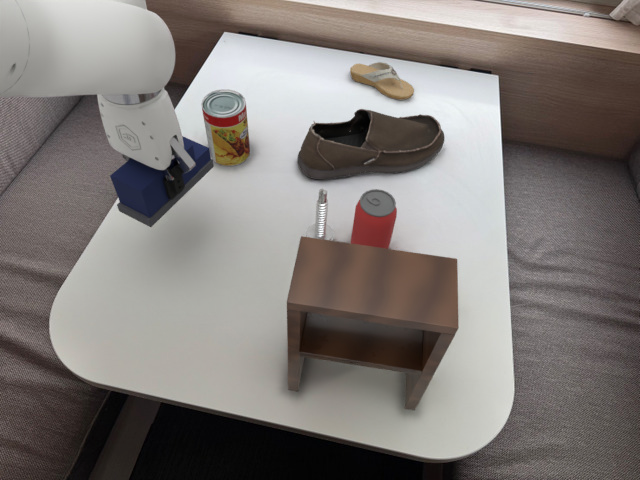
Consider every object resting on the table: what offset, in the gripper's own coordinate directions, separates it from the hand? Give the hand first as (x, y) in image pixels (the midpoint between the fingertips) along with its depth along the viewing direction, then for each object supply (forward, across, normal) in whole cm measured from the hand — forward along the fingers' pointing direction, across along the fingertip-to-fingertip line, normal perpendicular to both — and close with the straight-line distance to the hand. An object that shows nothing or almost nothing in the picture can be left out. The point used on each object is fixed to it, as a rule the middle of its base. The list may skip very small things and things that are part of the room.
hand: (159, 184), depth 77 cm
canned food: (+14, -5, +23) cm, 27 cm away
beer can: (+14, +29, +16) cm, 36 cm away
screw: (+14, +21, +13) cm, 28 cm away
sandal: (+14, +11, +59) cm, 62 cm away
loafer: (+14, +20, +36) cm, 43 cm away
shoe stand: (+15, +37, -5) cm, 40 cm away
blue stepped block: (+2, 0, +2) cm, 3 cm away
